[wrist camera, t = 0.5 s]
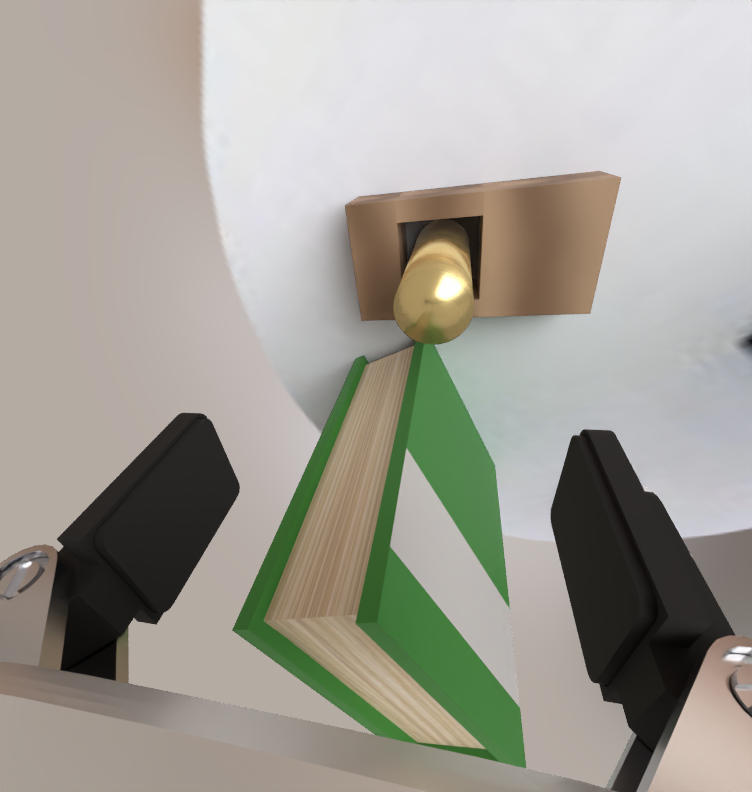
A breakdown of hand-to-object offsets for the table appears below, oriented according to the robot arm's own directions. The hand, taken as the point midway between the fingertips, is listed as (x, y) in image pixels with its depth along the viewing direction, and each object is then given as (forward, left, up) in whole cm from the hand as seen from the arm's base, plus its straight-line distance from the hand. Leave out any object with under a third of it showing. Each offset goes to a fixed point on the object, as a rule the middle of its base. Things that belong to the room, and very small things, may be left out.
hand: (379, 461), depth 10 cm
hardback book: (+1, +16, -23) cm, 28 cm away
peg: (-1, 0, -23) cm, 23 cm away
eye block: (-3, 0, -23) cm, 23 cm away
